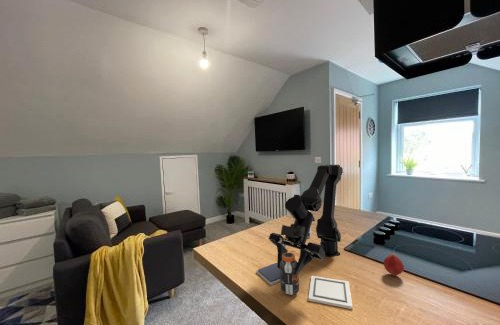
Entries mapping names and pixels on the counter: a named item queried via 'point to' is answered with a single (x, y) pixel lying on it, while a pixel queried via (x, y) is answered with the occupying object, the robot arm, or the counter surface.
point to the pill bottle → (289, 274)
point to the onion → (393, 265)
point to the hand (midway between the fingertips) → (286, 271)
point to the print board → (330, 292)
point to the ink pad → (270, 273)
